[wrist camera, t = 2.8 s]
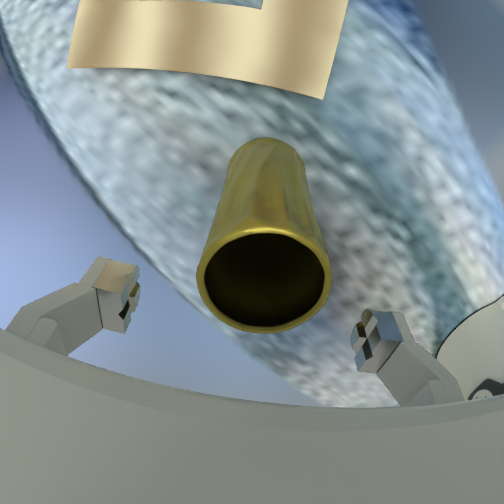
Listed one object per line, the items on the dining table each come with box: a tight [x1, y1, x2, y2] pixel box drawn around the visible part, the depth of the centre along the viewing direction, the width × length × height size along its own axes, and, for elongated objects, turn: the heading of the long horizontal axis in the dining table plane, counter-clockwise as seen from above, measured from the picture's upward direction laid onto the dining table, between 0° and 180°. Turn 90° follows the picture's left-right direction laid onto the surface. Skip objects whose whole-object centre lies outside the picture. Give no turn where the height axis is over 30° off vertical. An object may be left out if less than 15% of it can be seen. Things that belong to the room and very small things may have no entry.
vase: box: [196, 138, 332, 333], centre depth 18 cm, size 6×6×14 cm
